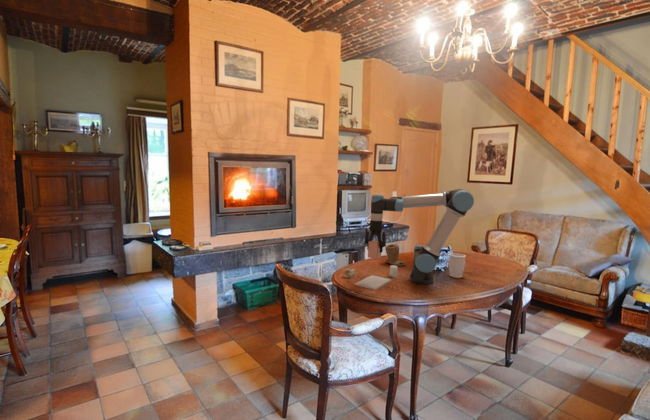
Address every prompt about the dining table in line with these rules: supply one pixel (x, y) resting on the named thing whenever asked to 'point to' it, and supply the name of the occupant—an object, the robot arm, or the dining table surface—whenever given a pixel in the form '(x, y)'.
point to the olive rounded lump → (349, 273)
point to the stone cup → (393, 255)
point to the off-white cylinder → (393, 271)
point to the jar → (456, 264)
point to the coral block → (373, 249)
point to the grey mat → (373, 282)
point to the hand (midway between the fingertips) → (374, 256)
